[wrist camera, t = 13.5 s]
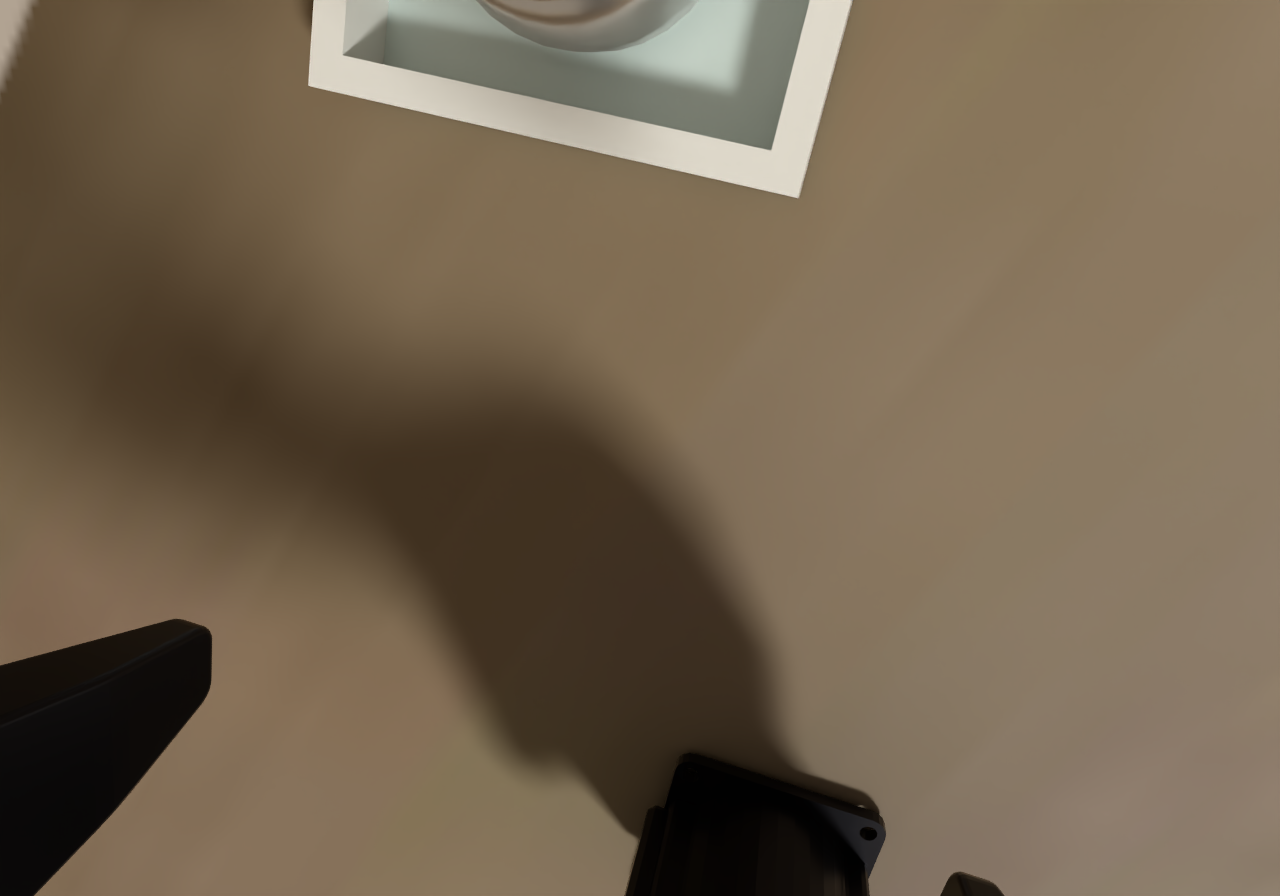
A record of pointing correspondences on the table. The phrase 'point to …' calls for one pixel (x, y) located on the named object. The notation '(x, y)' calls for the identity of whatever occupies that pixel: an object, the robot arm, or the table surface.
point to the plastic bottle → (588, 21)
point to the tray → (605, 80)
